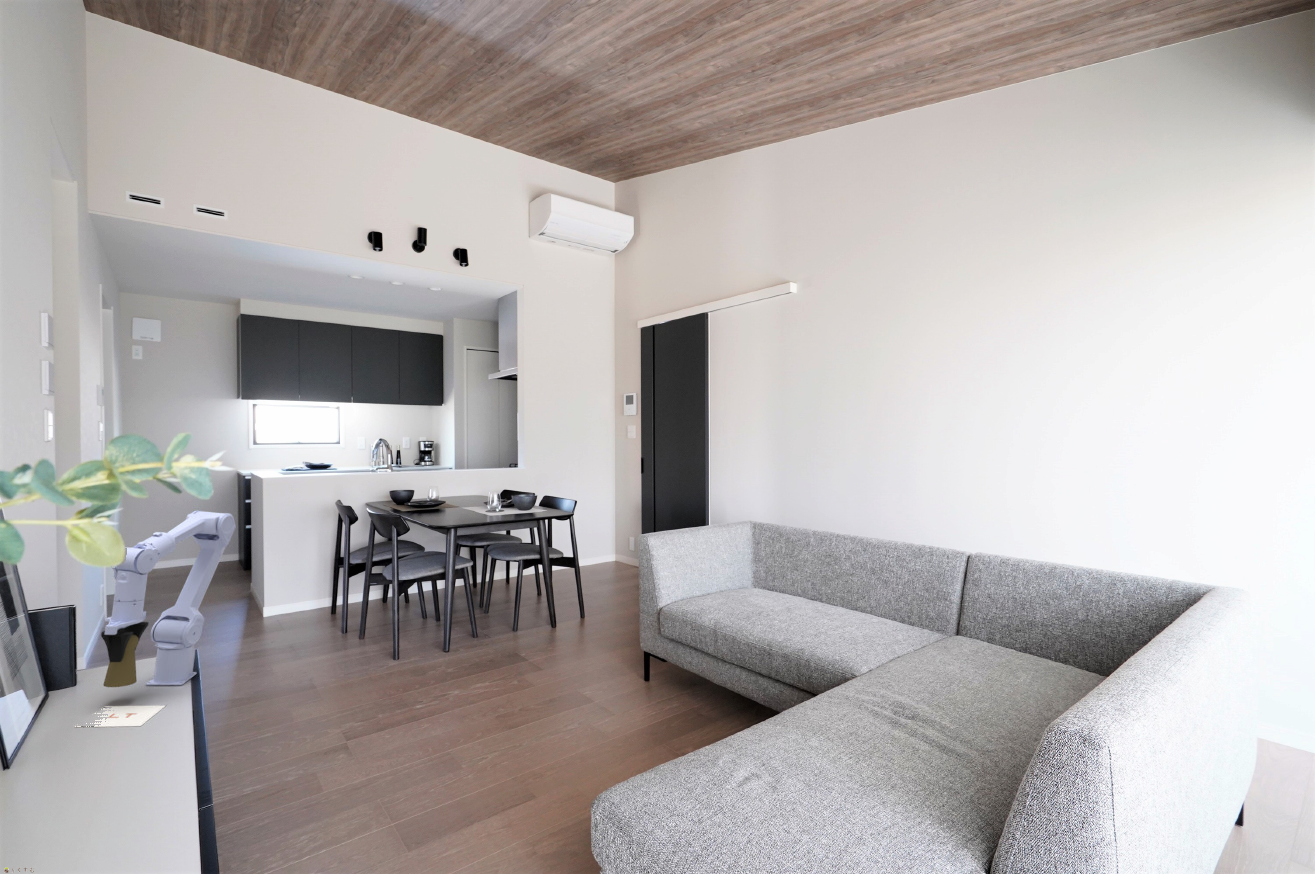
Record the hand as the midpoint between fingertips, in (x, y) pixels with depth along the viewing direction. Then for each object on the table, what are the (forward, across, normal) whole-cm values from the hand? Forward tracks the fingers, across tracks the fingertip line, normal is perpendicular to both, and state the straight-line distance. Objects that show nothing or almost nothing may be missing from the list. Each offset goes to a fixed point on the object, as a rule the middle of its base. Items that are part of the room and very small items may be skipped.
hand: (121, 657), depth 153 cm
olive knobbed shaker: (+6, 0, 0) cm, 6 cm away
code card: (+10, +8, +5) cm, 14 cm away
